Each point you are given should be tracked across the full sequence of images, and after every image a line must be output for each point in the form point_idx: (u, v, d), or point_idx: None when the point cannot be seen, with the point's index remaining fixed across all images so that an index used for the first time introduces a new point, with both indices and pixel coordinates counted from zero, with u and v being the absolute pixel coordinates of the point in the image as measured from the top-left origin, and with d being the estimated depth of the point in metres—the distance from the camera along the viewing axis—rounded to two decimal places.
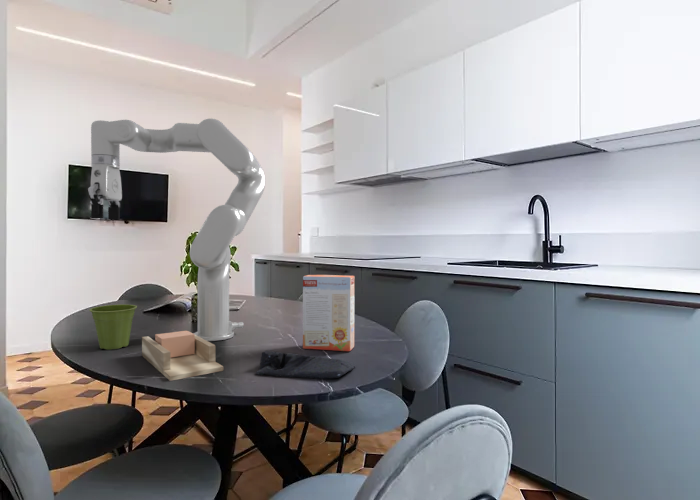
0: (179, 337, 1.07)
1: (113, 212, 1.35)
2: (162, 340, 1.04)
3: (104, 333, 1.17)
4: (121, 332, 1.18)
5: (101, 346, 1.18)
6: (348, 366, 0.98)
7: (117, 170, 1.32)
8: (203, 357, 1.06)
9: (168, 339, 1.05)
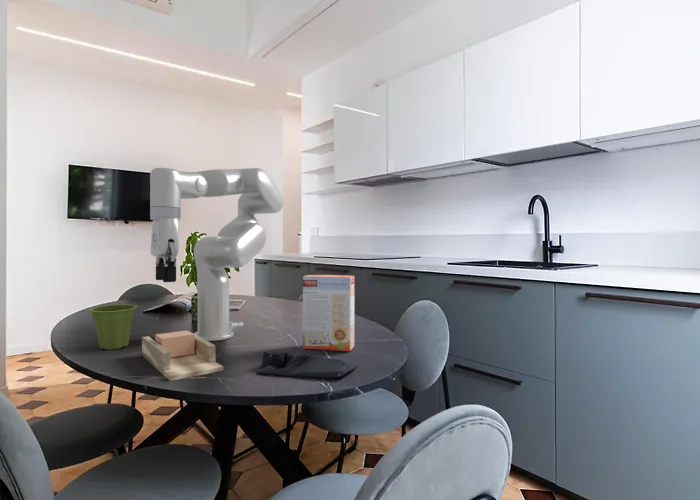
0: (179, 337, 1.07)
1: None
2: (162, 340, 1.04)
3: (104, 333, 1.17)
4: (121, 332, 1.18)
5: (101, 346, 1.18)
6: (349, 366, 0.98)
7: (157, 221, 1.11)
8: (203, 357, 1.06)
9: (168, 339, 1.05)
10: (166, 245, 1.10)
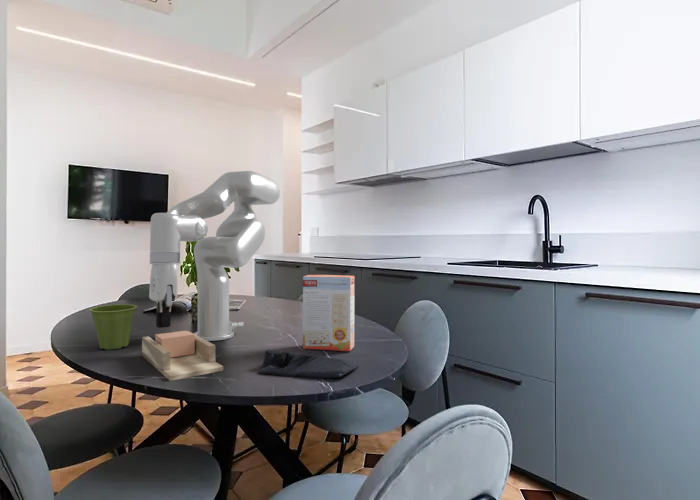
0: (179, 337, 1.07)
1: None
2: (162, 340, 1.04)
3: (104, 333, 1.17)
4: (121, 332, 1.18)
5: (101, 346, 1.18)
6: (350, 366, 0.98)
7: (156, 266, 1.11)
8: (203, 357, 1.06)
9: (168, 339, 1.05)
10: (165, 291, 1.10)
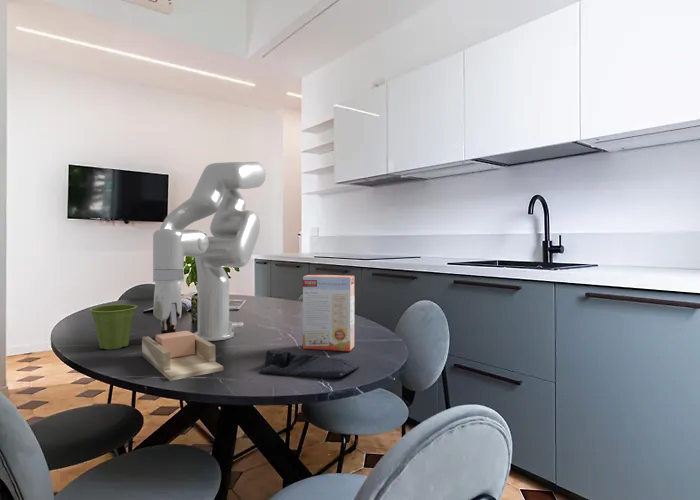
0: (179, 337, 1.07)
1: None
2: (162, 340, 1.04)
3: (104, 333, 1.17)
4: (121, 332, 1.18)
5: (101, 346, 1.18)
6: (351, 366, 0.98)
7: (160, 284, 1.10)
8: (203, 357, 1.06)
9: (168, 339, 1.05)
10: (169, 309, 1.08)
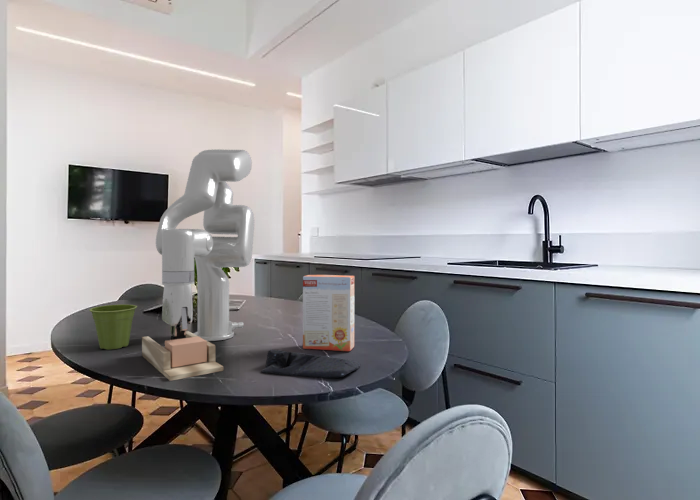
0: (190, 344, 1.00)
1: None
2: (173, 347, 0.98)
3: (104, 333, 1.17)
4: (121, 332, 1.18)
5: (101, 346, 1.18)
6: (352, 366, 0.98)
7: (169, 287, 1.03)
8: None
9: (179, 346, 0.98)
10: (179, 314, 1.02)
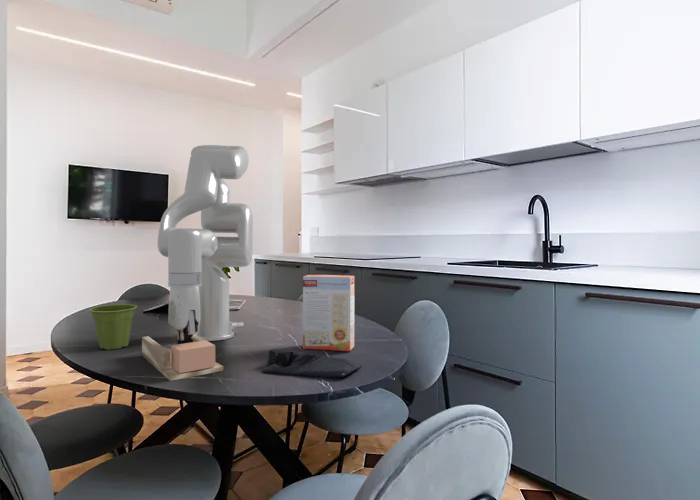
0: (198, 348, 0.96)
1: None
2: (180, 352, 0.93)
3: (104, 333, 1.17)
4: (121, 332, 1.18)
5: (101, 346, 1.18)
6: (353, 365, 0.98)
7: (176, 289, 0.99)
8: None
9: (186, 351, 0.94)
10: (187, 317, 0.97)
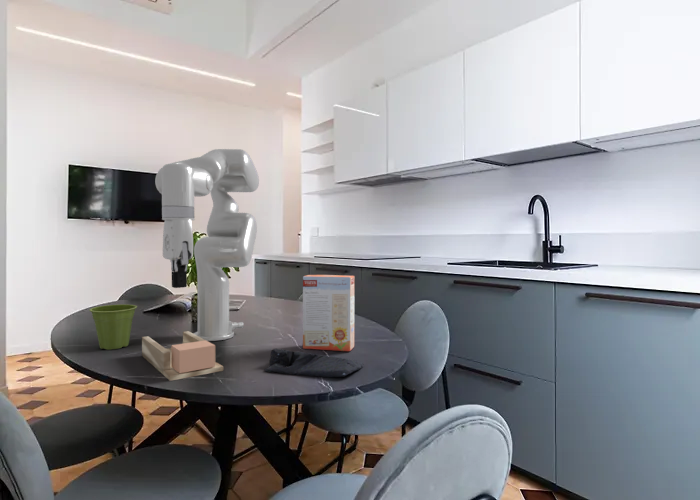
0: (198, 348, 0.96)
1: None
2: (180, 352, 0.93)
3: (104, 333, 1.17)
4: (121, 332, 1.18)
5: (101, 346, 1.18)
6: (355, 365, 0.99)
7: (170, 221, 1.03)
8: None
9: (186, 351, 0.94)
10: (180, 248, 1.02)
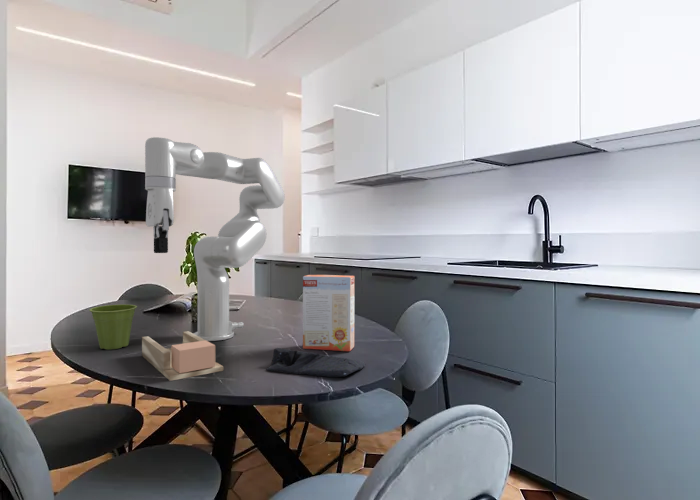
0: (198, 348, 0.96)
1: None
2: (180, 352, 0.93)
3: (104, 333, 1.17)
4: (121, 332, 1.18)
5: (101, 346, 1.18)
6: (356, 365, 0.99)
7: (152, 190, 1.11)
8: None
9: (186, 351, 0.94)
10: (161, 214, 1.10)
